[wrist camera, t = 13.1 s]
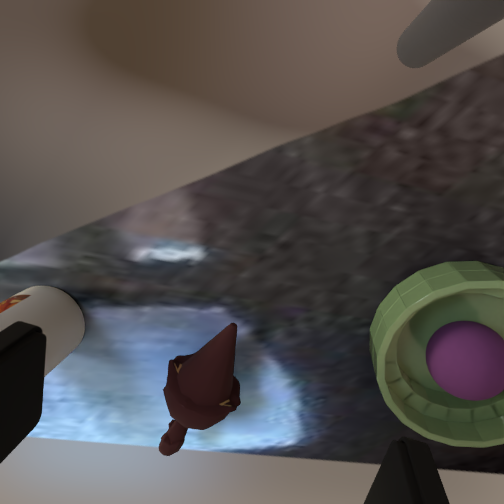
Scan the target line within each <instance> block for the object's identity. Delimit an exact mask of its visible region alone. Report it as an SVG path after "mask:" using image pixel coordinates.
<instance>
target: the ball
mask: <svg viewBox="0 0 504 504" xmlns="http://www.w3.org/2000/svg"><path fill="white" fill-rule="evenodd" d="M426 364H427V367H428V370H429V372H430V374H431V376H432V378H433V379H434V380H435V382H436V383H437V384H438V385H439V386H440V387H441V388H442V389H444V390H445V391H446V392H448V393H449V394H451V395H453V396H455V397H458V398H461V399H465V400H471V401H479V400H486V399H489V398H492V397H494V396H496V395H498V394H499V393H501V392H502V391H503V390H504V339H503V338H502V337H501V336H500V335H499V334H498V333H497V332H496V331H494V330H493V329H491V328H489V327H488V326H486V325H483V324H480V323H478V322H473V321H455V322H451V323H448V324H446V325H444V326H442V327H440V328H439V329H438V330H436V331H435V332H434V334H433V335H432V336H431V338H430V339H429V341H428V344H427V347H426Z"/></svg>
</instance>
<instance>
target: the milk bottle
mask: <svg viewBox="0 0 504 504" xmlns="http://www.w3.org/2000/svg"><path fill="white" fill-rule="evenodd" d="M17 321H22V322H26V323H29V324H32V325H36V326H39V327H41V328H42V331H43V334H45V335H46V338H47V342H46V357H45V372H44V377H45V376H46V375H47V374H48V373H49V372H51V371H52V370H53V369H54V368H55V367H56V366H57V365H58V364H59V363H60V362H62V361H63V360H64V359H65V358H66V357H67V356H68V355H69V354H70V353H71V352H72V351H73V350H75V349H76V348H77V347H78V345H79V344H80V343H81V341H82V338H83V335H84V332H85V322H84V317H83V314H82V311H81V309H80V308H79V306H78V304H77V303H76V302H75V301H74V299H72V298H71V297H70V296H69V295H68V294H66V293H65V292H63V291H62V290H59V289H57V288H55V287H51V286H34V287H30V288H28V289H26V290H24V291H22V292H20V293H18V294H16V295H14V296H12V297H10V298H9V299H7V300H5V301H3V302H1V303H0V331H2V330H4V329H5V328H7V327H8V326H10V325H11V324H13V323H15V322H17Z"/></svg>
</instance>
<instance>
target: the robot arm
mask: <svg viewBox="0 0 504 504" xmlns="http://www.w3.org/2000/svg"><path fill="white" fill-rule="evenodd" d="M46 342H47V338H46V335H45V334H43V331H42V328H41V327H39V326H36V325H32V324H29V323H26V322H22V321H17V322H15V323H13V324H11V325H10V326H8V327H7V328H5V329H4V330H2V331H0V463H1V462H2V461H3V460H4V459H5V458H6V457H7V456H8V455H9V454H10V453H11V452H12V451H13V450H14V449H15V448H16V447H17V445H18V444H19V443H20V442H21V441H22V440H23V439H24V438H25V437H26V436H27V435H28V434H29V433H30V432H31V431H32V430H33V429H34V427H35V426H36V425H37V423H38V422H39V420H40V417H41V414H42V402H43V387H44V372H45V357H46ZM364 504H449V501H448V498H447V496H446V493H445V490H444V487H443V484H442V482H441V479H440V476H439V473H438V470H437V468H436V465H435V462H434V459H433V457H432V454H431V451H430V448H429V446H428V445H427V444H426V443H423V442H420V441H417V440H413V439H410V438H407V437H401V438H400V439H399V441H396V440H393V441H392V442H391V444H390V446H389V448H388V451H387V453H386V455H385V457H384V460H383V462H382V464H381V466H380V469H379V471H378V473H377V475H376V477H375V480H374V482H373V484H372V486H371V488H370V491H369V493H368V495H367V498H366V500H365V502H364Z"/></svg>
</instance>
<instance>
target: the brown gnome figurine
mask: <svg viewBox="0 0 504 504" xmlns="http://www.w3.org/2000/svg"><path fill="white" fill-rule="evenodd" d="M236 336H237V324H235V323H231V324H230V325H228V326H227V327H226V328H225V329H223V330H222V331H221V332H220V333H219V334H218V335H216V336H215V337H214V338H213V339H212V340H210V341H209V342H208V343H207V344H206V345H205V346H203V347H202V348H201V349H200V350H199V351H197V352H196V353H194V354H190V355H186V356H177V357H176V358H175V359H174V360H170V361H169V365H168V376H167V384H166V386H165V387H164V389H163V391H164V395H165V399H166V403H167V406H168V409H169V412H170V416H171V417H172V418H174V419H175V420H172V421H171V422H170V423H169V429H168V431H167V432H166V433H165V434H164V435H163V436H162V437H161V442H160V444H159V451H160V452H161V453H162V454H163V455H166V456H170V455H172V454H174V453H176V452H178V451H179V449H180V448H181V446H182V445H183V443H184V438H185V435H186V433H187V430H188V428H191V429H199V430H204V429H207V428H209V427H211V426H213V425H214V424H216V423H218V422H220V421H221V420H223V419H225V417H226V416H227V415H228V414H229V413H230V412H232V411H235V410H236V409H237V406H239V405H240V403H241V401H240V384H239V381H238V380H237V379H236V377H235V376H234V375H233V373H234V360H235V347H236Z"/></svg>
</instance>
